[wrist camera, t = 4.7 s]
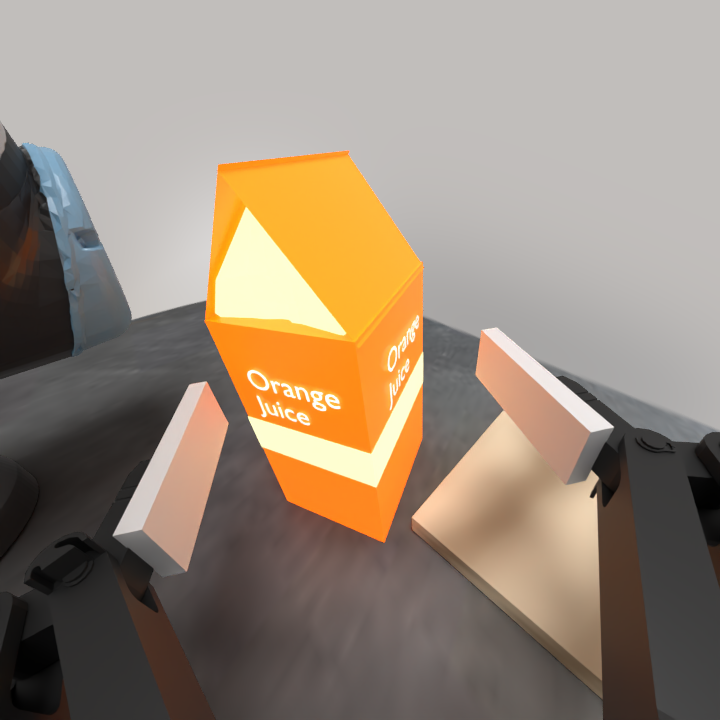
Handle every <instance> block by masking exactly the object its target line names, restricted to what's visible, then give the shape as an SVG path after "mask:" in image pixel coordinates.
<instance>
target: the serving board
mask: <svg viewBox="0 0 720 720" xmlns="http://www.w3.org/2000/svg"><path fill="white" fill-rule="evenodd" d="M598 479H599V477H598V476H597V475H596V474H595V473H594V472H593V471H592V470H591V472H590V474H589V476H588V477H587V479H586V481H582V482H578V483H574V484H569V485H565V484H564V483H563V481H562V480H561V479H560V478H559V477H558V475H557V474H556V473H555V472H554V470H553V469H552V468H551V467H550V466H549V464H548V463H547V462H546V461H545V459H544V458H543V457H542V456H541V455H540V453H539V452H538V451H537V450H536V448H535V447H534V446H533V445H532V444H531V442H530V441H529V440H528V439H527V437H526V436H525V435H524V434H523V433H522V431H521V430H520V429H519V428H518V426H517V425H516V424H515V423H514V422H513V420H512V419H511V418H510V417H509V415H508V414H507V413H506V412H505V410H503V411H502V413H501V414H500V415H499V416H498V417H497V418H496V420H495V421H494V422H493V423H492V424H491V425H490V427H489V428H488V429H487V430H486V431H485V432H484V434H483V435H482V436H481V437H480V438H479V439H478V441H477V442H476V443H475V444H474V445H473V446H472V448H471V449H470V450H469V451H468V452H467V453H466V455H465V456H464V457H463V458H462V459H461V460H460V462H459V463H458V464H457V465H456V466H455V468H454V469H453V470H452V471H451V472H450V473H449V475H448V476H447V477H446V478H445V479H444V480H443V482H442V483H441V484H440V485H439V486H438V487H437V489H436V490H435V491H434V492H433V493H432V494H431V496H430V497H429V498H428V499H427V500H426V501H425V503H424V504H423V505H422V506H421V507H420V508H419V510H418V511H417V512H416V513H415V514H414V515H413V517H412V530H413V531H414V532H415V533H417V534H418V535H419V536H420V537H421V538H422V539H423V540H424V541H425V542H427V543H428V544H429V545H430V546H431V547H432V548H433V549H434V550H436V551H437V552H438V553H439V554H440V555H441V556H442V557H443V558H445V559H446V560H447V561H448V562H449V563H450V564H451V565H452V566H453V567H455V568H456V569H457V570H458V571H459V572H460V573H461V574H462V575H464V576H465V577H466V578H467V579H468V580H469V581H470V582H471V583H472V584H474V585H475V586H476V587H477V588H478V589H479V590H480V591H481V592H483V593H484V594H485V595H486V596H487V597H488V598H489V599H490V600H492V601H493V602H494V603H495V604H496V605H497V606H498V607H499V608H500V609H502V610H503V611H504V612H505V613H506V614H507V615H508V616H509V617H511V618H512V619H513V620H514V621H515V622H516V623H517V624H518V625H519V626H521V627H522V628H523V629H524V630H525V631H526V632H527V633H528V634H530V635H531V636H532V637H533V638H534V639H535V640H536V641H537V642H539V643H540V644H541V645H542V646H543V647H544V648H545V649H546V650H547V651H549V652H550V653H551V654H552V655H553V656H554V657H555V658H556V659H558V660H559V661H560V662H561V663H562V664H563V665H564V666H565V667H566V668H568V669H569V670H570V671H571V672H572V673H573V674H574V675H575V676H577V677H578V678H579V679H580V680H581V681H582V682H583V683H584V684H586V685H587V686H588V687H589V688H590V689H591V690H592V691H593V692H594V693H596V694H597V695H598V696H599V697H600V698H601V699H602V700H603V693H602V658H601V623H600V588H599V552H598V517H597V493H596V495H595V497H594V498H590V494H591V491H592V490H593V488H594V486H595V484H596V483H597V481H598Z"/></svg>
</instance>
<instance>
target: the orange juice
mask: <svg viewBox="0 0 720 720" xmlns="http://www.w3.org/2000/svg"><path fill="white" fill-rule="evenodd" d="M348 153H349V151H342V152H332V153H322V154H314V155H304V156H295V157H285V158H276V159H266V160H257V161H248V162H238V163H229V164H220V165H218V175H217V187H216V198H215V210H214V222H213V235H212V246H211V259H210V270H209V282H208V294H207V306H206V318H205V323H206V324H207V327H208V329H209V331H210V333H211V335H212V337H213V340H214V342H215V344H216V346H217V348H218V351H219V353H220V355H221V357H222V359H223V361H224V364H225V366H226V368H227V370H228V372H229V375H230V377H231V379H232V381H233V383H234V385H235V388H236V390H237V392H238V394H239V396H240V399H241V401H242V403H243V405H244V407H245V409H246V412H247V414H248V419H249V421H250V423H251V425H252V427H253V429H254V432H255V434H256V436H257V438H258V440H259V442H260V445H261V447H263V449H264V451H265V453H266V455H267V457H268V460H269V462H270V464H271V466H272V468H273V470H274V473H275V475H276V477H277V479H278V481H279V484H280V486H281V488H282V490H283V492H284V494H285V497H286V499H287V501H289V502H291V503H294V504H296V505H298V506H301V507H303V508H305V509H308V510H310V511H312V512H315V513H317V514H319V515H322V516H324V517H326V518H328V519H331V520H333V521H335V522H338V523H340V524H342V525H345V526H347V527H349V528H352V529H354V530H356V531H358V532H361V533H363V534H365V535H368V536H370V537H372V538H375V539H377V540H379V541H382V542H385V539H386V537H387V534H388V531H389V528H390V525H391V523H392V520H393V517H394V514H395V512H396V509H397V506H398V503H399V501H400V498H401V495H402V492H403V490H404V487H405V484H406V481H407V479H408V476H409V473H410V470H411V468H412V465H413V462H414V459H415V457H416V454H417V451H418V448H419V446H420V443H421V440H422V383H423V352H422V336H423V302H422V301H423V268H424V267H423V262H420V261H419V259H418V258H417V256H416V255H415V254H414V252H413V250H412V249H411V247H410V246H409V245H408V243H407V241H406V240H405V238H404V237H403V236H402V234H401V233H400V231H399V230H398V228H397V227H396V225H395V224H394V222H393V221H392V219H391V218H390V216H389V215H388V213H387V212H386V210H385V209H384V207H383V206H382V204H381V203H380V201H379V200H378V198H377V197H376V195H375V194H374V192H373V191H372V189H371V188H370V186H369V185H368V184H367V182H366V180H365V179H364V177H363V176H362V175H361V173H360V171H359V170H358V169H357V167H356V165H355V164H354V162H353V161H352V160H351V158H350V157H349V155H348Z"/></svg>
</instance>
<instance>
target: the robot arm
mask: <svg viewBox="0 0 720 720" xmlns="http://www.w3.org/2000/svg"><path fill="white" fill-rule="evenodd" d="M131 318H132V317H131V311H130V308H129V305H128V302H127V300H126V297H125V295H124V293H123V290H122V288H121V285H120V283H119V281H118V279H117V277H116V274H115V272H114V269H113V267H112V265H111V263H110V260H109V258H108V256H107V254H106V252H105V250H104V247H103V245H102V243H101V242H100V240H99V238H98V234H97V232H96V230H95V228H94V226H93V223H92V221H91V218H90V216H89V213H88V211H87V209H86V207H85V204H84V202H83V200H82V198H81V196H80V194H79V191H78V189H77V187H76V185H75V183H74V181H73V179H72V176H71V174H70V173H69V170H68V168H67V166H66V164H65V162H64V161H63V159H62V158H61V156H60V155H59V154H58V153H57V152H55V151H54V150H52V149H50V148H46V147H37V146H36V145H34V144H29V143H23V144H22V146H20V147H18V146H17V145H16V143H15V142H14V140H13V139H12V138H11V136H10V135H9V133H8V132H7V130H6V129H5V128H4V126H3V125H2V123H1V122H0V379H3V378H6V377H9V376H12V375H15V374H18V373H21V372H24V371H27V370H30V369H34V368H37V367H40V366H43V365H46V364H49V363H52V362H55V361H58V360H61V359H65V358H68V357H74V356H77V355H79V354H81V353H82V351H83V350H86V349H88V348H91V347H93V346H96V345H98V344H101V343H103V342H106V341H109V340H111V339H114V338H116V337H118V336H120V335H122V334H123V333H124V332H125V331H126V330H127V329H128V328H129V326H130V323H131ZM476 376H477V377H478V379H479V380H480V381H481V382H482V384H483V385H484V386H485V387H486V388H487V390H488V391H489V392H490V393H491V395H492V396H493V397H494V398H495V399H496V401H497V402H498V403H499V404H500V406H501V407H502V408H503V409H504V410H505V412H506V413H507V414H508V415H509V417H510V418H511V419H512V420H513V422H514V423H515V424H516V425H517V426H518V428H519V429H520V430H521V431H522V433H523V434H524V435H525V436H526V437H527V439H528V440H529V441H530V442H531V444H532V445H533V446H534V447H535V448H536V450H537V451H538V452H539V453H540V455H541V456H542V457H543V458H544V459H545V461H546V462H547V463H548V464H549V466H550V467H551V468H552V469H553V470H554V472H555V473H556V474H557V475H558V477H559V478H560V479H561V480H562V481H563V483H564V484H565V485H569V484H574V483H578V482H582V481H586V479H587V477H588V476H589V474H590V472H591V470H592V471H593V472H594V473H595V474H596V475H597V476H598V477H599V479H598V481H597V483H596V484H595V486H594V488H593V490H592V491H591V494H590V498H594V497H595V495H596V493H597V517H598V552H599V588H600V623H601V658H602V693H603V720H720V432H712V433H709V434H707V435H705V437H704V438H703V439H702V440H701V442H700V443H690V442H673V441H671V440H670V439H668V438H667V437H665V436H663V435H661V434H659V433H657V432H654V431H651V430H648V429H641V428H634V427H632V426H631V425H630V424H628V423H627V422H626V421H625V420H623V419H622V418H621V417H620V416H618V415H617V414H616V413H615V412H613V411H612V410H611V409H610V408H608V407H607V406H606V405H605V404H603V403H602V402H601V401H600V400H597V398H596V397H595V396H593V395H592V394H591V393H588V391H587V390H586V389H585V388H583V387H582V386H581V385H580V384H578V383H577V382H575V381H573V380H571V379H569V378H566V377H564V376H559V377H554V376H553V375H552V374H551V373H550V372H549V371H547V370H546V369H545V368H544V367H543V366H542V365H540V364H539V363H538V362H537V361H536V360H534V359H533V358H532V357H531V356H530V355H529V354H527V353H526V352H525V351H524V350H523V349H521V348H520V347H519V346H518V345H517V344H515V343H514V342H513V341H512V340H510V338H508V337H507V336H506V335H505V334H504V333H503V332H501V331H500V330H499V329H498V328H491V329H486V330H482V331H481V338H480V346H479V353H478V361H477V368H476ZM228 424H229V423H228V421H227V420H226V418H225V416H224V414H223V412H222V410H221V408H220V406H219V404H218V402H217V400H216V398H215V397H214V395H213V393H212V391H211V389H210V387H209V385H208V383H207V381H206V382H201V383H195V384H190V385H189V386H188V388H187V390H186V392H185V394H184V396H183V398H182V400H181V402H180V404H179V406H178V408H177V410H176V412H175V414H174V416H173V418H172V420H171V422H170V424H169V426H168V428H167V430H166V432H165V434H164V436H163V438H162V439H161V441H160V443H159V445H158V447H157V449H156V451H155V453H154V455H153V457H152V459H151V460H146V461H141V462H140V463H139V464H138V465H137V466H136V468H135V469H134V470H133V471H132V472H131V473H130V474H129V475H128V477H127V479H126V481H125V482H124V484H123V486H122V488H121V489H122V490H121V491H119V493H118V495H117V497H116V499H115V502H114V503H113V504H112V506H111V508H110V509H109V511H108V513H107V515H106V517H105V518H104V520H103V522H102V524H101V526H100V527H99V529H98V531H97V533H96V535H95V536H94V538H93V540H92V539H91V538H90V537H88V536H87V535H86V534H85V533H80V532H75V533H71V534H68V535H65V536H63V537H61V538H60V539H58V540H56V541H54V542H53V543H52V544H50V545H49V546H48V547H47V548H45V549H44V550H43V551H42V552H41V553H40V554H39V555H38V556H37V557H36V558H35V560H34V561H33V562H32V563H31V565H30V566H29V568H28V570H27V572H26V573H25V578H24V583H25V584H27V585H28V586H30V587H32V588H34V590H32V591H30V592H28V593H26V594H24V595H22V596H20V597H17V596H15V595H13V594H10V593H8V592H1V593H0V720H216V719H215V717H214V715H213V713H212V711H211V709H210V706H209V704H208V702H207V700H206V698H205V696H204V694H203V692H202V690H201V687H200V685H199V683H198V681H197V679H196V677H195V675H194V673H193V670H192V668H191V666H190V664H189V662H188V660H187V658H186V656H185V653H184V651H183V649H182V647H181V645H180V643H179V641H178V639H177V636H176V634H175V632H174V630H173V628H172V626H171V624H170V622H169V619H168V617H167V615H166V613H165V611H164V609H163V607H162V605H161V602H160V600H159V598H158V596H157V594H156V592H155V590H154V588H153V586H152V585H151V584H150V583H149V581H150V578H151V575H152V572H153V570H154V571H155V572H157V573H158V574H159V575H160V576H161V577H166V576H171V575H175V574H180V573H184V572H187V570H188V566H189V562H190V559H191V555H192V552H193V548H194V545H195V541H196V538H197V534H198V531H199V527H200V523H201V520H202V516H203V513H204V509H205V506H206V502H207V499H208V495H209V492H210V488H211V484H212V481H213V477H214V474H215V470H216V467H217V463H218V460H219V456H220V453H221V449H222V445H223V442H224V438H225V435H226V431H227V428H228ZM38 492H39V488H38V483H37V481H36V479H35V478H34V476H32V475H31V474H30V473H29V472H27V471H26V470H25V469H24V468H22V467H21V466H20V465H19V464H17V463H16V462H15V461H13V460H11V459H9V458H7V457H4V456H1V455H0V558H1V556H2V555H3V554H4V553H5V552H6V551H7V549H8V548H9V547H10V546H11V544H12V543H13V542H14V541H15V539H16V538H17V536H18V535H19V534H20V532H21V531H22V529H23V528H24V526H25V525H26V523H27V521H28V520H29V518H30V516H31V514H32V512H33V510H34V507H35V505H36V502H37V498H38Z"/></svg>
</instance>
